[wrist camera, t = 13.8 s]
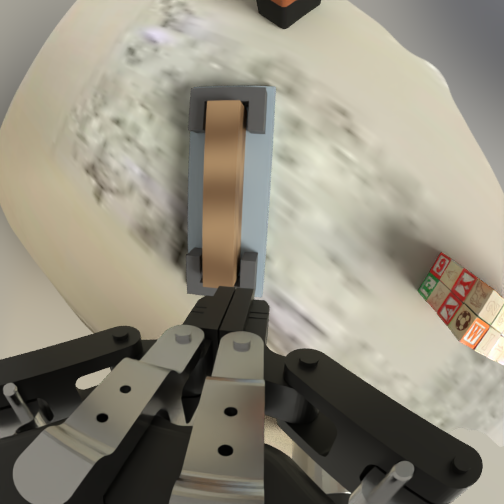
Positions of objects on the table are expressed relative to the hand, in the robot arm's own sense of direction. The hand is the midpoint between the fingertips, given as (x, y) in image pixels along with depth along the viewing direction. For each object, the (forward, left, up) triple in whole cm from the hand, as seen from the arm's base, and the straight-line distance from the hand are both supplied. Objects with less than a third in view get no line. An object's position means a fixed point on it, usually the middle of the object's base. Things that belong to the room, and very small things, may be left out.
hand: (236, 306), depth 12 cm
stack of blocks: (-9, -32, -21) cm, 39 cm away
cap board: (+3, +4, -20) cm, 21 cm away
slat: (+3, +4, -19) cm, 20 cm away
